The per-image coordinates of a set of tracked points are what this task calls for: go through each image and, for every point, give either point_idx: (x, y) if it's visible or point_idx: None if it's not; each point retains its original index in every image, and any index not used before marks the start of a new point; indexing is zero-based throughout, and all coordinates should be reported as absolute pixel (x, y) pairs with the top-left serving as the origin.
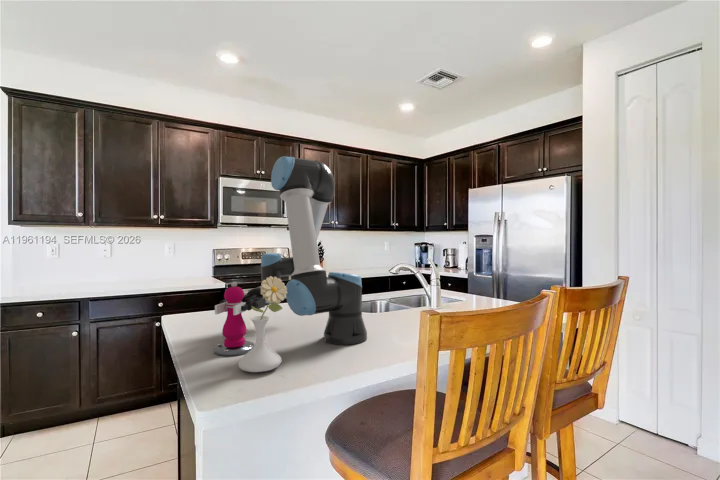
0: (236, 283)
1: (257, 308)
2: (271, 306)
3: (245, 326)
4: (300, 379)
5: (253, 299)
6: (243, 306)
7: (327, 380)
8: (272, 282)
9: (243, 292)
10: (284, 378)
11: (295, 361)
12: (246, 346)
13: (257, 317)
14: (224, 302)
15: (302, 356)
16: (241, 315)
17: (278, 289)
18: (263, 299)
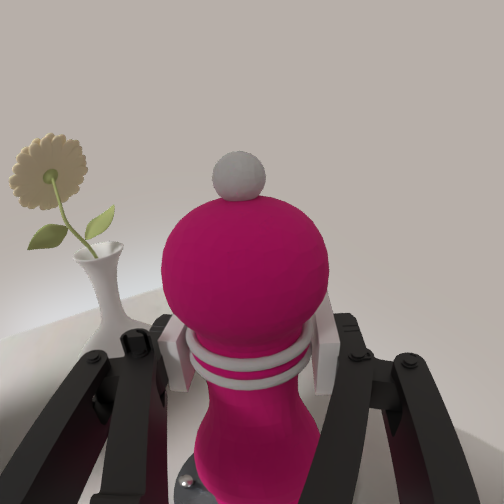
0: (214, 168)
1: (93, 403)
2: (58, 231)
3: (195, 451)
4: (63, 333)
5: (109, 467)
6: (167, 314)
7: (29, 330)
8: (47, 153)
9: (162, 258)
10: (86, 336)
11: (48, 397)
12: (204, 489)
13: (103, 258)
14: (331, 322)
15: (25, 423)
16: (210, 411)
17: (35, 178)
18: (15, 452)
